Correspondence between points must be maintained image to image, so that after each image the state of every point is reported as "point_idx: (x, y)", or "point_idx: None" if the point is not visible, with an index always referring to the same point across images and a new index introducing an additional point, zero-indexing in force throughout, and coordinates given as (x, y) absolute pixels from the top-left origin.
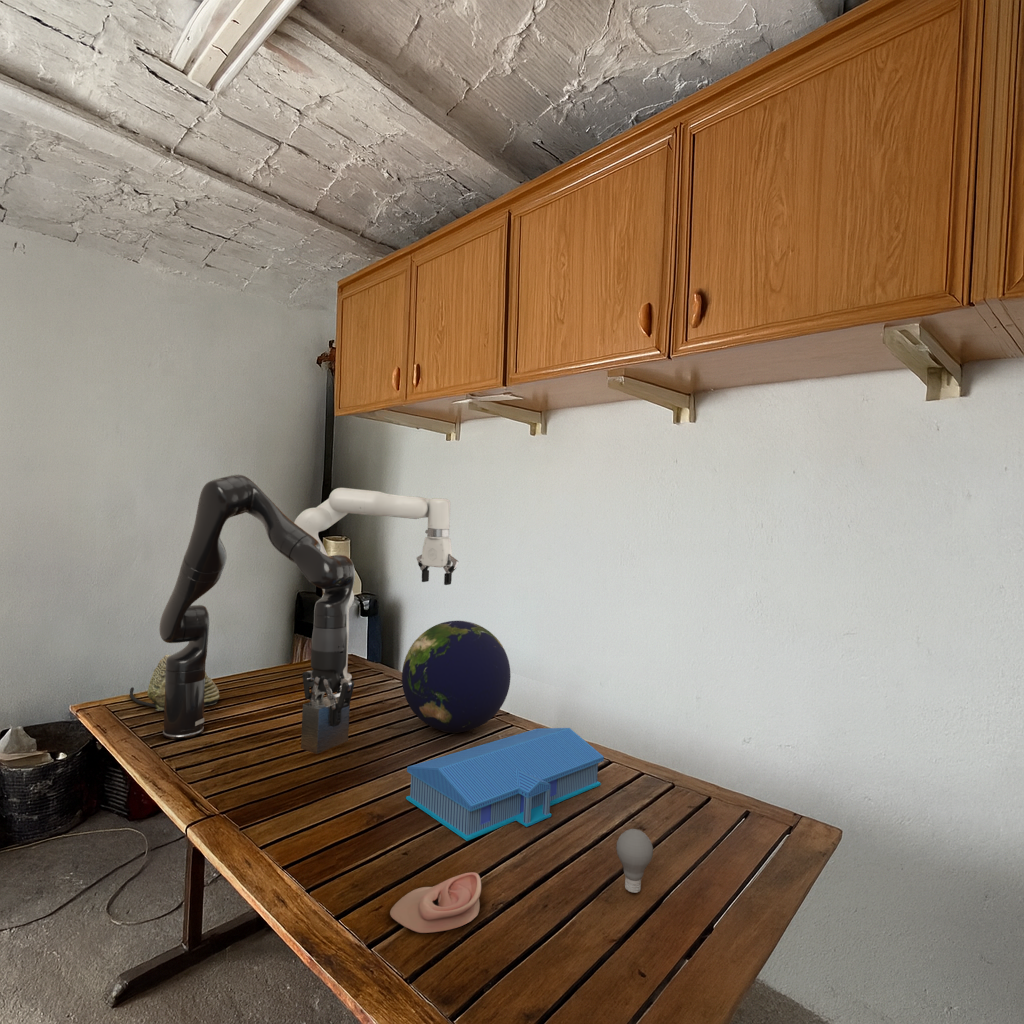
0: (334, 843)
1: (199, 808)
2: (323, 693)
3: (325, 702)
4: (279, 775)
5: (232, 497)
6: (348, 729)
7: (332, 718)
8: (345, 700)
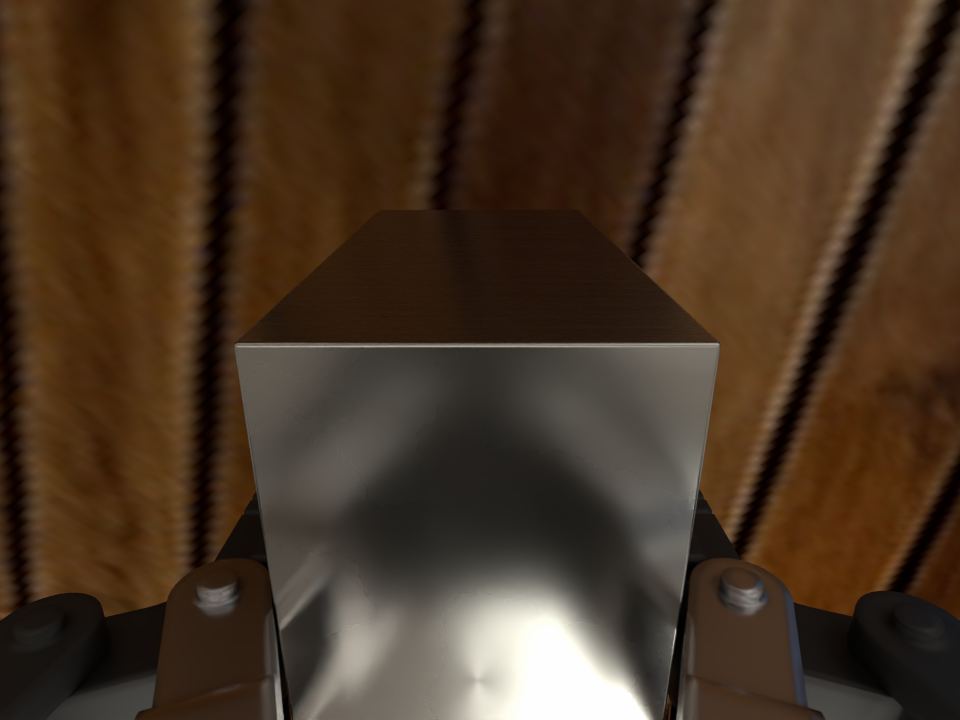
0: None
1: None
2: (281, 709)
3: (500, 718)
4: (223, 361)
5: None
6: (596, 229)
7: None
8: (925, 711)
